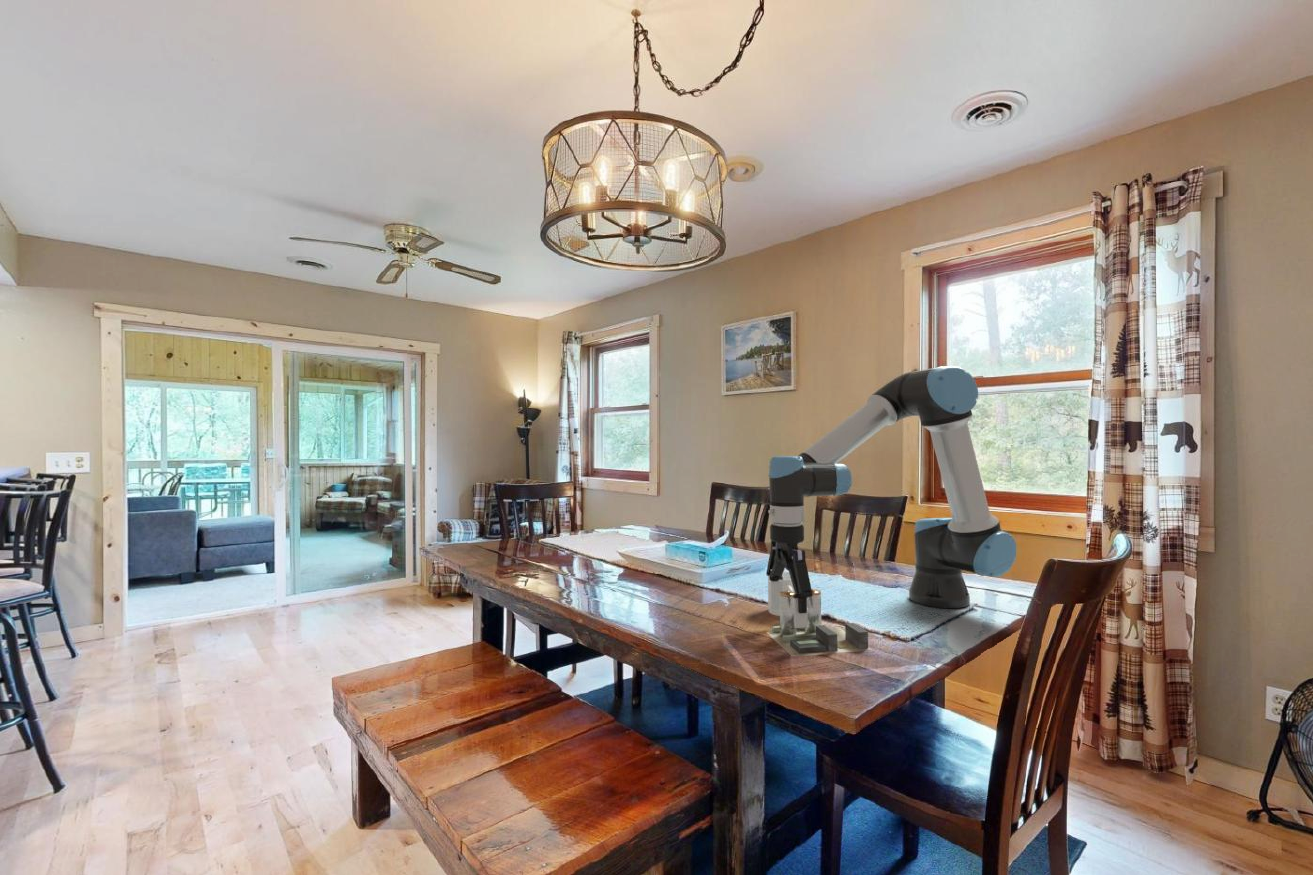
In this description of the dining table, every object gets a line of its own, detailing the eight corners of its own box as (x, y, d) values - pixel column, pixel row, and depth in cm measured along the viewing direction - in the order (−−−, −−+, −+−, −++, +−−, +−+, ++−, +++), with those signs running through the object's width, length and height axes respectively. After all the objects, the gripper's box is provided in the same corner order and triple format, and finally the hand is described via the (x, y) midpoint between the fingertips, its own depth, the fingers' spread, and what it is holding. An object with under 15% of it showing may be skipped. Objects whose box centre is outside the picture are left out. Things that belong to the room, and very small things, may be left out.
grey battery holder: (838, 630, 134) (837, 611, 134) (873, 654, 119) (872, 633, 119) (766, 636, 131) (765, 617, 131) (792, 661, 116) (792, 639, 116)
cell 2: (817, 631, 131) (816, 587, 131) (824, 636, 128) (823, 591, 128) (802, 632, 131) (801, 588, 131) (809, 637, 127) (808, 592, 127)
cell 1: (792, 633, 130) (792, 588, 130) (799, 638, 127) (798, 592, 127) (777, 634, 130) (777, 589, 130) (783, 639, 126) (783, 593, 126)
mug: (809, 625, 139) (808, 583, 139) (775, 625, 138) (774, 583, 139) (796, 610, 151) (796, 571, 151) (765, 610, 150) (765, 572, 151)
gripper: (752, 517, 140) (753, 602, 140) (793, 533, 115) (795, 637, 115) (781, 515, 141) (782, 600, 141) (828, 531, 117) (829, 634, 117)
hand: (788, 617), depth 128 cm, fingers open, 13 cm apart
